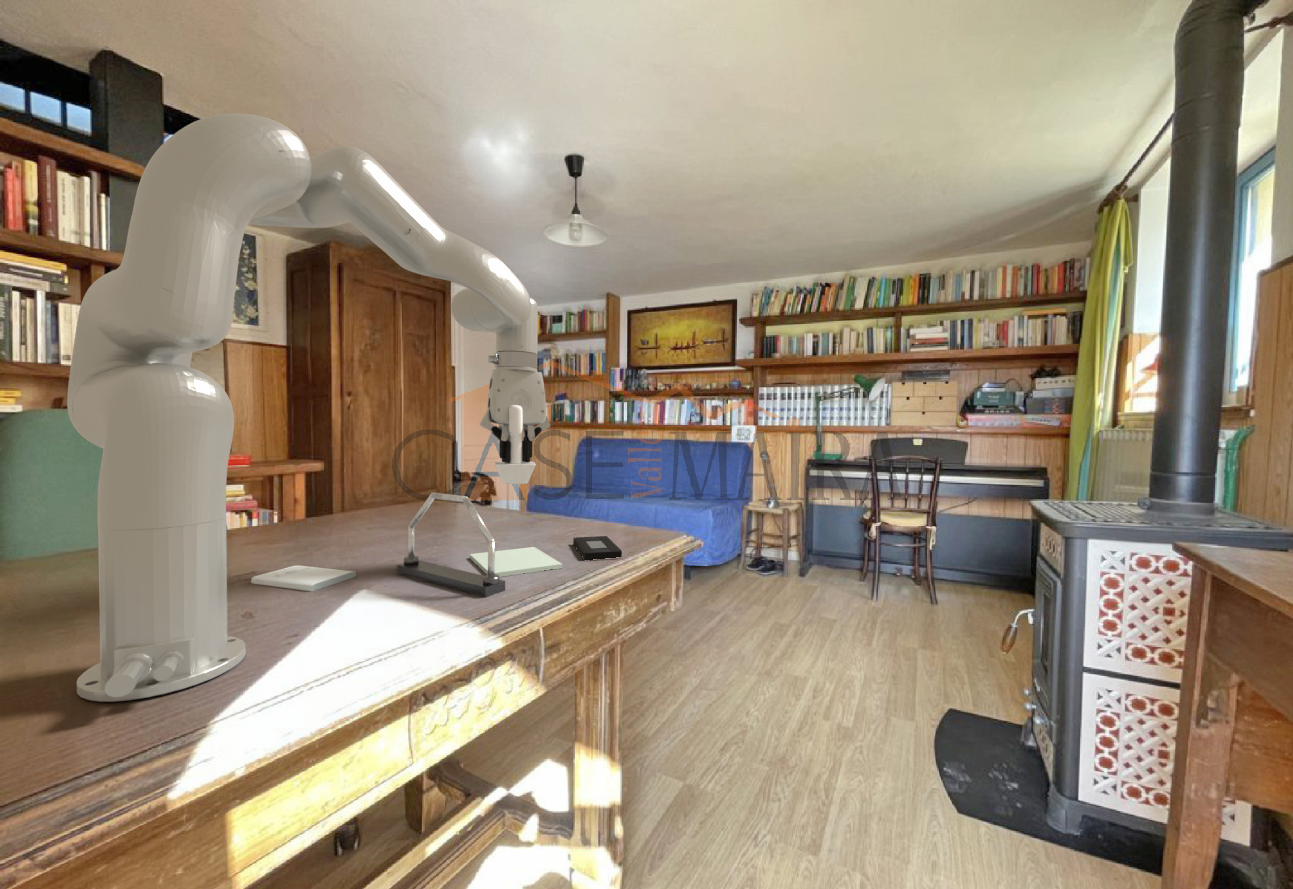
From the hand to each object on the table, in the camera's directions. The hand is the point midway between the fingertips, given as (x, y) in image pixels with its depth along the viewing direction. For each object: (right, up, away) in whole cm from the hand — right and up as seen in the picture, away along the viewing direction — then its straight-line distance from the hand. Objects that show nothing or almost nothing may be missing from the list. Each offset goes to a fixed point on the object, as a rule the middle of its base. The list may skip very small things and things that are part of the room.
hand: (515, 461), depth 96 cm
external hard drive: (-32, -20, -12) cm, 39 cm away
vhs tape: (+14, -20, +11) cm, 27 cm away
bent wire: (-8, -20, -11) cm, 24 cm away
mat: (0, -19, +1) cm, 19 cm away
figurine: (0, -4, 0) cm, 4 cm away
